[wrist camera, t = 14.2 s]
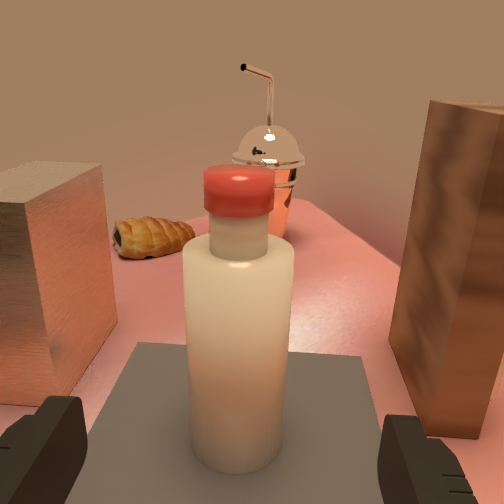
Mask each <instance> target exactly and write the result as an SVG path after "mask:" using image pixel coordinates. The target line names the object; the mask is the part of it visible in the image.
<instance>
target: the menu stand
mask: <svg viewBox="0 0 504 504" xmlns="http://www.w3.org/2000/svg"><path fill="white" fill-rule="evenodd" d="M389 342H390V344H391V347H392V350H393V352H394V355H395V357H396V360H397V363H398V365H399V368H400V370H401V373H402V376H403V378H404V381H405V383H406V386H407V388H408V391H409V394H410V396H411V399H412V401H413V404H414V407H415V409H416V412H417V414H418V417H419V420H420V422H421V425H422V427H423V430H424V432H425V435H429V436H442V437H456V438H469V439H478V437H479V434H480V431H481V427H482V424H483V421H484V417H485V414H486V411H487V407H488V404H489V400H490V399H491V400H495V399H496V395H497V392H498V389H499V385H500V382H501V379H502V376H503V372H504V106H501V105H495V104H489V103H483V102H472V101H442V100H430V104H429V110H428V115H427V122H426V127H425V133H424V138H423V144H422V150H421V156H420V161H419V167H418V173H417V179H416V185H415V190H414V196H413V202H412V207H411V213H410V218H409V224H408V230H407V236H406V242H405V248H404V253H403V259H402V264H401V270H400V276H399V281H398V287H397V293H396V299H395V304H394V310H393V316H392V322H391V327H390V333H389Z"/></svg>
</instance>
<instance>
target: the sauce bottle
mask: <svg viewBox="0 0 504 504" xmlns="http://www.w3.org/2000/svg"><path fill="white" fill-rule="evenodd" d="M203 175H204V208H205V209H206V210H207V211H208V212H209V233H207V234H203V235H200V236H198V237H195V238H193V239H191V240H190V241H188V242H187V243H186V244H185V245H184V247H183V250H182V254H183V277H184V301H185V324H186V348H187V371H188V395H189V418H190V441H191V447H192V450H193V452H194V454H195V455H196V457H197V458H198V459H199V460H200V461H201V462H202V463H203V464H204V465H206V466H207V467H209V468H211V469H213V470H215V471H218V472H221V473H225V474H247V473H251V472H254V471H257V470H259V469H261V468H263V467H265V466H266V465H268V464H269V463H270V462H271V461H273V460H274V458H275V457H276V456H277V454H278V453H279V451H280V448H281V445H282V437H283V422H284V406H285V391H286V376H287V360H288V345H289V330H290V314H291V299H292V283H293V268H294V248H293V247H292V245H291V244H290V243H289V242H287V241H286V240H284V239H282V238H280V237H277V236H274V235H271V234H268V229H269V213H270V212H271V211H272V210H273V209H274V196H275V171H274V170H272V169H270V168H266V167H262V166H255V165H243V164H232V165H219V166H213V167H209V168H207V169H205V170H204V173H203Z"/></svg>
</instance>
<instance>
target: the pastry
mask: <svg viewBox="0 0 504 504" xmlns="http://www.w3.org/2000/svg"><path fill="white" fill-rule="evenodd" d="M112 238H113V241H114V242H115V249H116V250H117V251H118V253H119V255H121V256H123V257H126V258H130V259H144V258H145V257H146V256H153V257H159V256H163V255H165V254H171V253H175V252H178V251H182V250H183V247H184V245H185V244H186V243H187V242H188V241H190V240H191V239H193V238H195V233H194V231H193V229H192V227H191V226H190V225H188V224H185V223H183V222H179V221H177V222H172V221H170V220H168V219H160V218H152V217H143V218H142V219H135V218H130V219H127V221H126V222H125V221H116V222H115V227H114V229H113V237H112Z"/></svg>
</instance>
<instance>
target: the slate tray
mask: <svg viewBox="0 0 504 504" xmlns="http://www.w3.org/2000/svg"><path fill="white" fill-rule="evenodd" d="M381 436H382V434H381V430H380V426H379V423H378V419H377V415H376V411H375V407H374V404H373V400H372V396H371V392H370V389H369V385H368V381H367V377H366V374H365V370H364V366H363V362H362V359H361V356H346V355H331V354H316V353H300V352H288V360H287V376H286V391H285V406H284V422H283V437H282V445H281V448H280V451H279V453H278V454H277V456H276V457H275V458H274V460H273V461H271V462H270V463H269V464H268V465H266V466H265V467H263V468H261V469H259V470H257V471H254V472H251V473H247V474H225V473H221V472H218V471H215V470H213V469H211V468H209V467H207V466H206V465H204V464H203V463H202V462H201V461H200V460H199V459H198V458H197V457H196V455H195V454H194V452H193V450H192V447H191V441H190V418H189V395H188V371H187V348H186V345H177V344H162V343H146V342H138V343H137V345H136V347H135V348H134V350H133V352H132V354H131V356H130V358H129V360H128V361H127V363H126V365H125V367H124V369H123V371H122V372H121V374H120V376H119V378H118V380H117V382H116V384H115V385H114V387H113V389H112V391H111V393H110V395H109V396H108V398H107V400H106V402H105V404H104V406H103V408H102V409H101V411H100V413H99V415H98V417H97V419H96V420H95V422H94V424H93V426H92V428H91V430H90V432H89V433H88V435H87V439H88V449H87V455H86V459H85V462H84V465H83V467H82V469H81V471H80V473H79V475H78V477H77V479H76V481H75V483H74V485H73V487H72V489H71V491H70V493H69V495H68V497H67V499H66V501H65V503H64V504H384V503H383V499H382V495H381V491H380V487H379V482H378V474H377V459H378V453H379V447H380V441H381Z"/></svg>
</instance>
